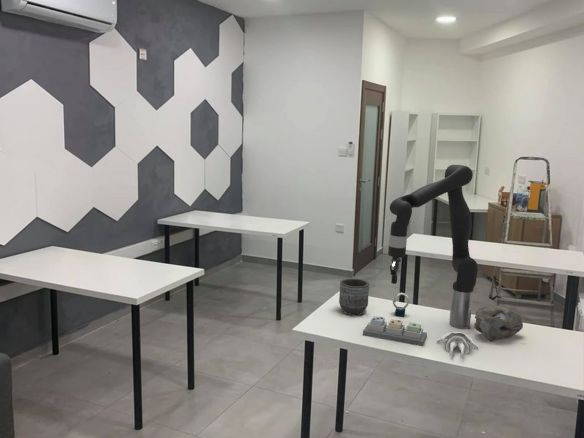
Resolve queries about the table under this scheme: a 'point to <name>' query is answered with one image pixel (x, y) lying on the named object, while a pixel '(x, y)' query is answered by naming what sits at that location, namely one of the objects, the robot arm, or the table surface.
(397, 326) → the button two
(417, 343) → the keypad
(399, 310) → the watch
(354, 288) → the planter
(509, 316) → the fossil
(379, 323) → the button three
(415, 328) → the button one
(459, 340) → the figurine
